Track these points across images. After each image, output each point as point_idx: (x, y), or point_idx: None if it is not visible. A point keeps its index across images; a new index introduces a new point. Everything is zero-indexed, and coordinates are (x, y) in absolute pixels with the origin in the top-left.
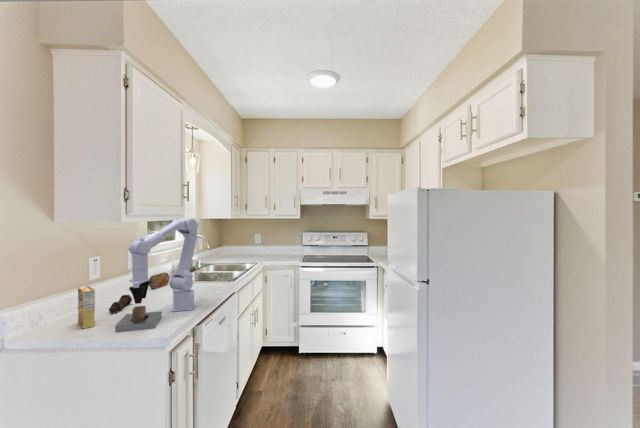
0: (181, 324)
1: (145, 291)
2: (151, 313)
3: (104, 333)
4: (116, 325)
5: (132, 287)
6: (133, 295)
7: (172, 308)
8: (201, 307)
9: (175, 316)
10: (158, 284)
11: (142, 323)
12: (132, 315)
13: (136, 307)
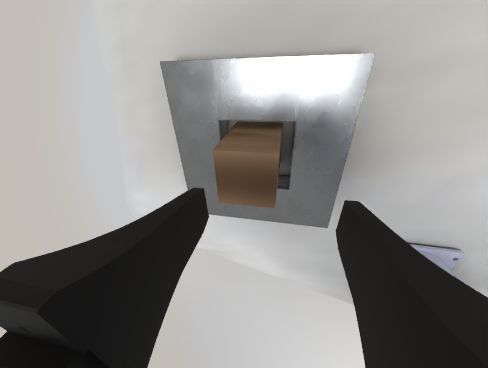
0: (220, 254)
1: (354, 287)
2: (312, 195)
3: (163, 3)
4: (163, 67)
5: (6, 323)
6: (130, 227)
7: (414, 247)
8: None
9: (304, 246)
10: None
11: (185, 176)
12: (224, 137)
13: (253, 166)
